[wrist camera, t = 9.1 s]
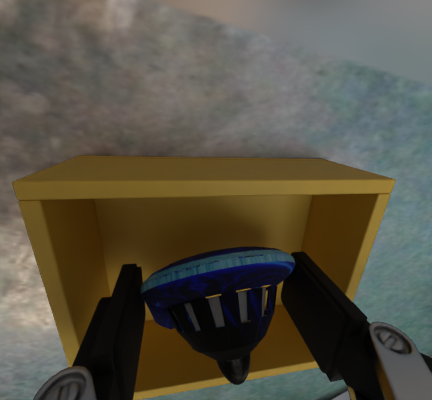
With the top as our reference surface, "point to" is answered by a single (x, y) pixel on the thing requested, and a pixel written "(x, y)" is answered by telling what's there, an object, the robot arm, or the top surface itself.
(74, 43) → the top surface
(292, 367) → the bin
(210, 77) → the top surface
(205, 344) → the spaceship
